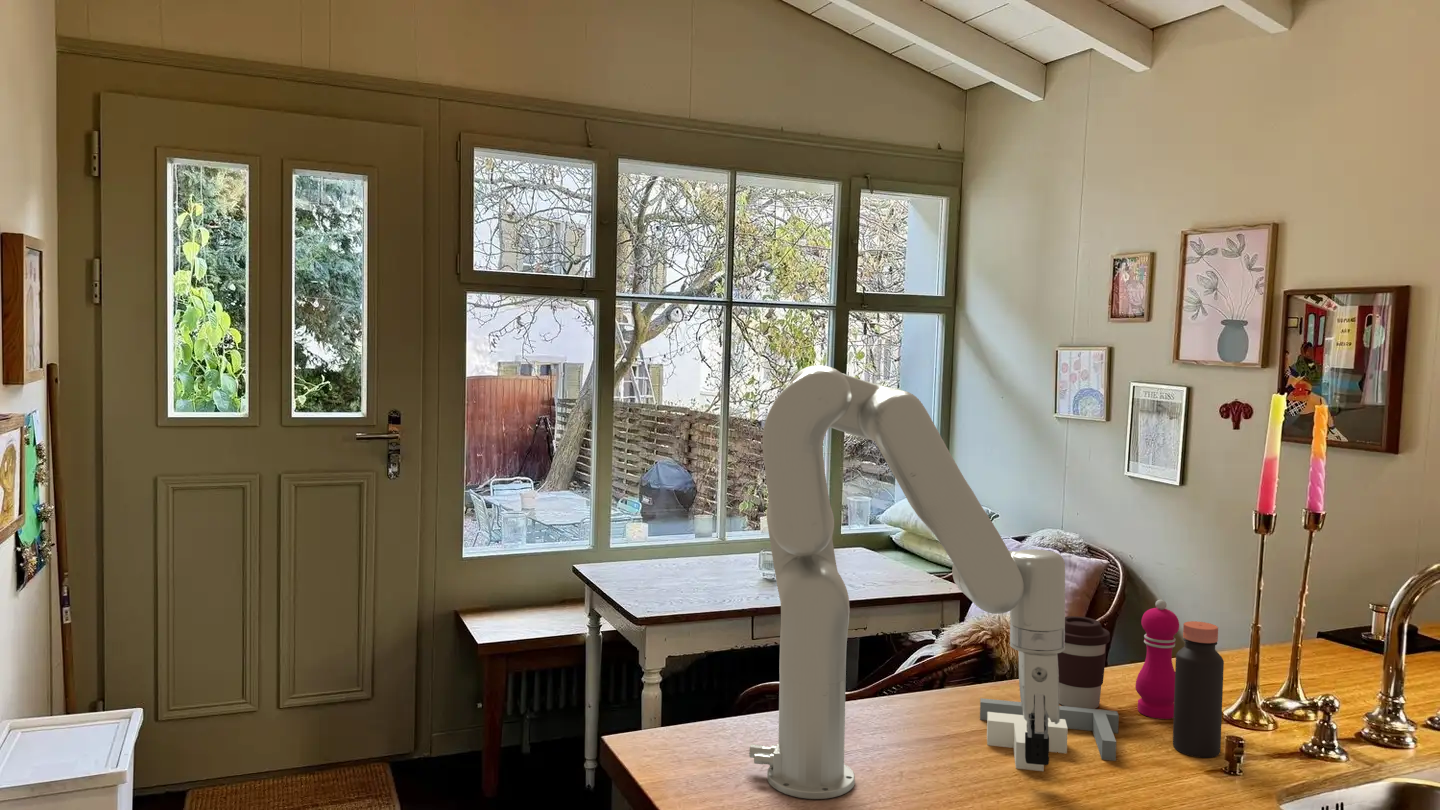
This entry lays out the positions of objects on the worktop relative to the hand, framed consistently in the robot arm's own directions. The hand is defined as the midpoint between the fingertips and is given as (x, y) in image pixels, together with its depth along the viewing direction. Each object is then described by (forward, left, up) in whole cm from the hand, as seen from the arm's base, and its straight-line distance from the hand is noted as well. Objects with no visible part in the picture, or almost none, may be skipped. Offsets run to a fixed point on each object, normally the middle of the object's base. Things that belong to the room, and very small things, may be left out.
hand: (1036, 761), depth 142 cm
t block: (-1, +11, -3) cm, 11 cm away
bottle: (+25, +20, -3) cm, 32 cm away
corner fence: (+3, +19, -3) cm, 19 cm away
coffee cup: (+9, +37, -3) cm, 38 cm away
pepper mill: (+22, +36, -3) cm, 42 cm away
